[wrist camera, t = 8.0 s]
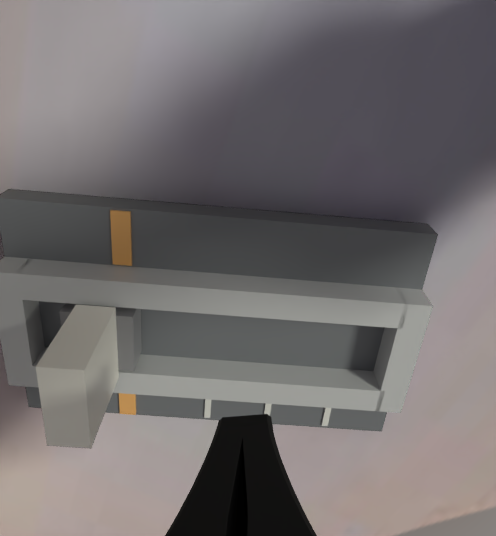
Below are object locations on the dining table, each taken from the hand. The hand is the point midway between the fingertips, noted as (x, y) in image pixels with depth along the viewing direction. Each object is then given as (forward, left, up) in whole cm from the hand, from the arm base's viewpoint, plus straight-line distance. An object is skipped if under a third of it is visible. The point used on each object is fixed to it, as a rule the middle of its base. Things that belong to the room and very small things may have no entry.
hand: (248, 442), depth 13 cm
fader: (+6, +2, -8) cm, 11 cm away
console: (+2, +2, -10) cm, 10 cm away
